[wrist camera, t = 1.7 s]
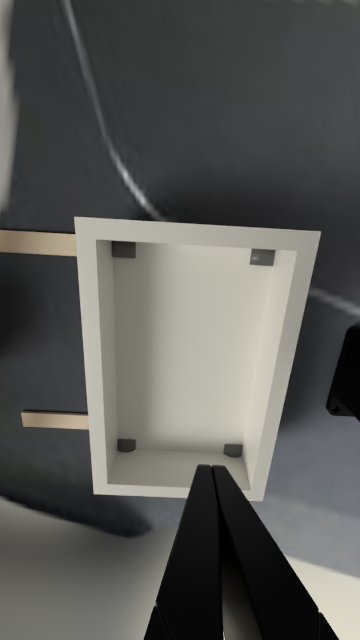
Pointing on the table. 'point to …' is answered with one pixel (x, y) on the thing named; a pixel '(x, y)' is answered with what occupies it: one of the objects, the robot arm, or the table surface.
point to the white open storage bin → (187, 348)
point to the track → (49, 246)
